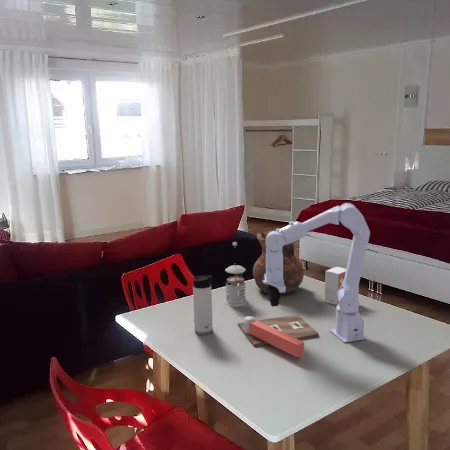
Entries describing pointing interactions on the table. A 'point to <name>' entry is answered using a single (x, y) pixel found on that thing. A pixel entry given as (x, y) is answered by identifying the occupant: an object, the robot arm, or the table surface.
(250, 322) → the swing arm
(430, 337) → the table surface
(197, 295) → the travel mug
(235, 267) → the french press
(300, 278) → the jug
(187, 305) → the table surface
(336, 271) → the small box
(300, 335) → the label board
